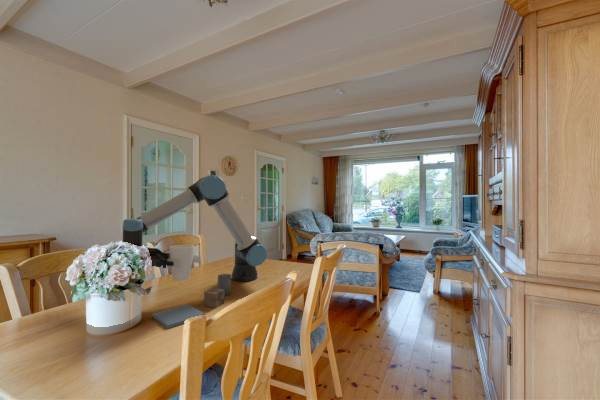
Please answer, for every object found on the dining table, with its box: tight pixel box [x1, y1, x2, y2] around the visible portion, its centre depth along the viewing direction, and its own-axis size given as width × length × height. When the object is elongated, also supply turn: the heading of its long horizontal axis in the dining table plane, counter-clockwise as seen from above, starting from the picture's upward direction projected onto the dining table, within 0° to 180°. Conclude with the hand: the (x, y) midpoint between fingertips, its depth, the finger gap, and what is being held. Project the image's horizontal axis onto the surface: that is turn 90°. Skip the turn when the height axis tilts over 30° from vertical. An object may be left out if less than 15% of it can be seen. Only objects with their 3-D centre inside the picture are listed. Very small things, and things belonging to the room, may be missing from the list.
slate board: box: [152, 303, 206, 330], centre depth 105 cm, size 14×14×1 cm
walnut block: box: [203, 287, 225, 309], centre depth 118 cm, size 6×6×6 cm
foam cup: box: [168, 244, 196, 282], centre depth 110 cm, size 10×9×13 cm
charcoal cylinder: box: [217, 273, 232, 297], centre depth 131 cm, size 6×6×9 cm
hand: (190, 261), depth 108 cm, fingers closed on foam cup, 9 cm apart
